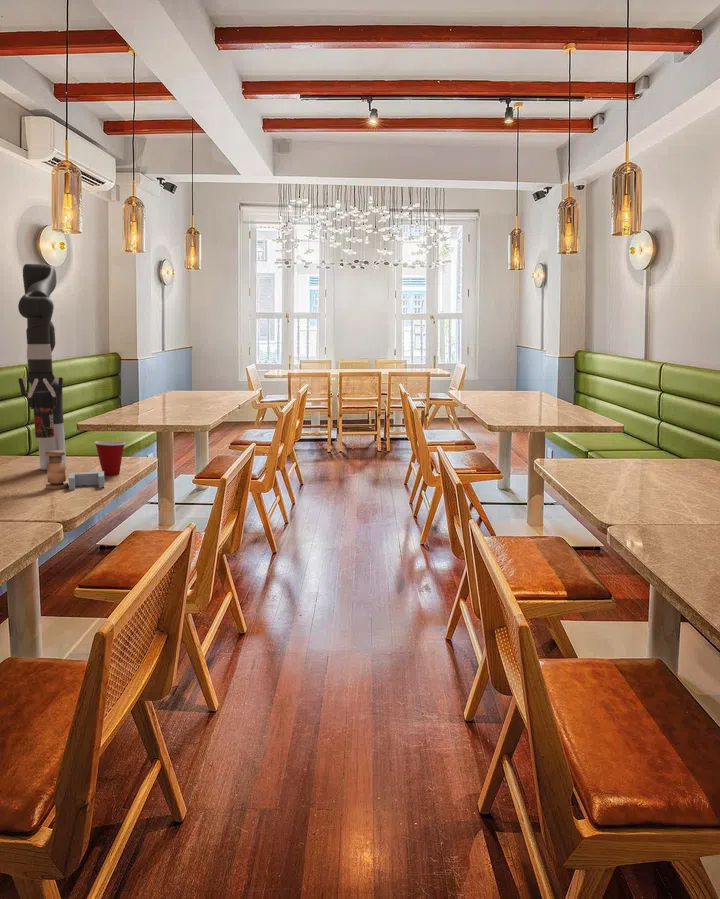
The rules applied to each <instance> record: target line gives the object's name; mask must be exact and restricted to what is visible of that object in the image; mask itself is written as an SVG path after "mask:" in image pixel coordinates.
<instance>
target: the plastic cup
mask: <svg viewBox="0 0 720 899" xmlns="http://www.w3.org/2000/svg"><path fill="white" fill-rule="evenodd" d="M94 445H95V447H96V451H97V453H98V459H99V463H100V464H99V465H100V468H101V471H104V476H118V475H120V472H121V466H122V458H123V452H124V448H125V445H126V442H125V441H118V440H117V441H115V440H100V441H99V440H98V441H94Z"/></svg>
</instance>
